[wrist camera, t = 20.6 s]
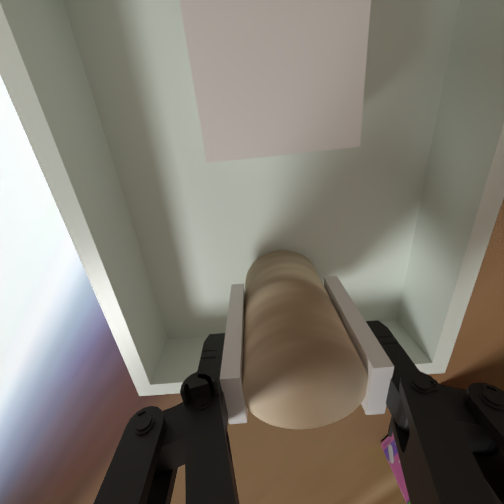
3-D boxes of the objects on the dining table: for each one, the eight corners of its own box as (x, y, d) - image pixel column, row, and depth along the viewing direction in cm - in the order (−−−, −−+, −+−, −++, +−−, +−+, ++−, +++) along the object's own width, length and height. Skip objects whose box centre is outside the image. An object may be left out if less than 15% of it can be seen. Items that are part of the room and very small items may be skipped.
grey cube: (221, 154, 14) (206, 163, 9) (204, 30, 12) (170, -53, 7) (319, 143, 14) (359, 146, 9) (320, 15, 11) (377, -81, 6)
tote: (163, 340, 21) (139, 396, 16) (30, -69, 11) (-126, -218, 6) (401, 320, 20) (444, 372, 16) (491, -129, 10) (682, -338, 6)
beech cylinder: (249, 314, 18) (248, 432, 11) (241, 253, 16) (234, 349, 9) (317, 309, 18) (362, 425, 11) (318, 246, 16) (375, 338, 9)
